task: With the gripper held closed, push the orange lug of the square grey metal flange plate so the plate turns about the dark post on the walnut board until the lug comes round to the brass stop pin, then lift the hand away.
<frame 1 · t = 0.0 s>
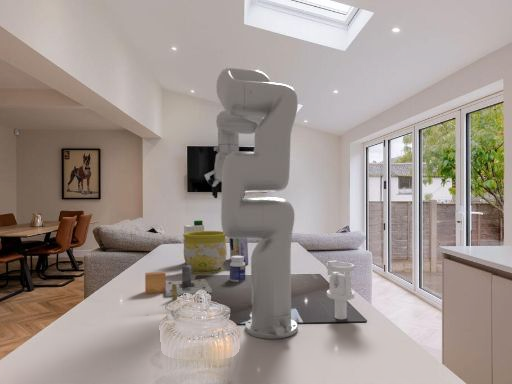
hand: (228, 197, 130), 31 cm above the table, tool pointing down, fingers open, 9 cm apart
board: (186, 293, 118), on the table
milk carton: (194, 263, 169), on the table
flange plate: (177, 280, 117), point 5 cm above the table, hinge at 0.0°
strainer: (340, 318, 94), on the table
flowerpot: (205, 272, 150), on the table
pill bottle: (237, 284, 130), on the table
cake pan box: (238, 261, 174), on the table
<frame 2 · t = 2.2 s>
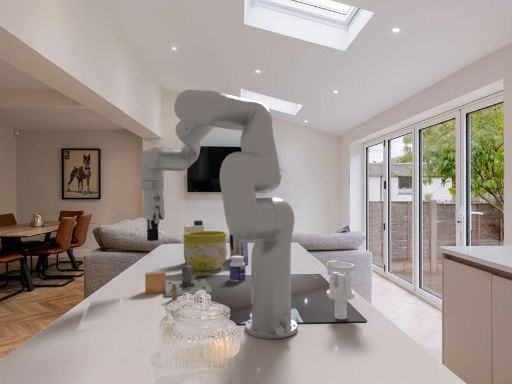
hand: (152, 240, 122), 17 cm above the table, tool pointing down, fingers closed
nothing on the table moved.
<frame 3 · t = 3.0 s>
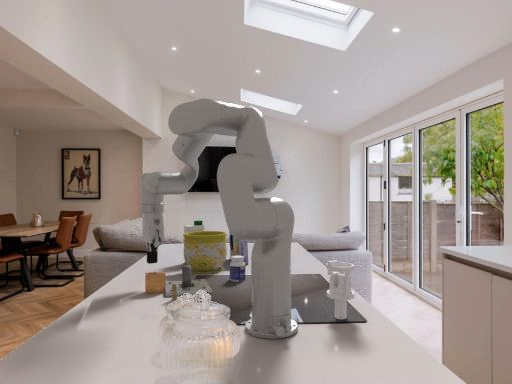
hand: (152, 262, 123), 9 cm above the table, tool pointing down, fingers closed
nothing on the table moved.
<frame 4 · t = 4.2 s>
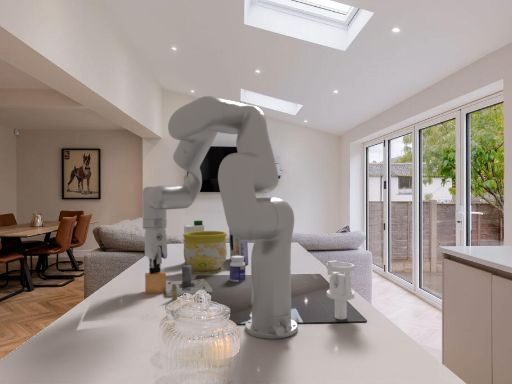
hand: (154, 279, 119), 5 cm above the table, tool pointing down, fingers closed
flange plate: (177, 280, 117), point 4 cm above the table, hinge at 1.7°, touching gripper
everything else where it was.
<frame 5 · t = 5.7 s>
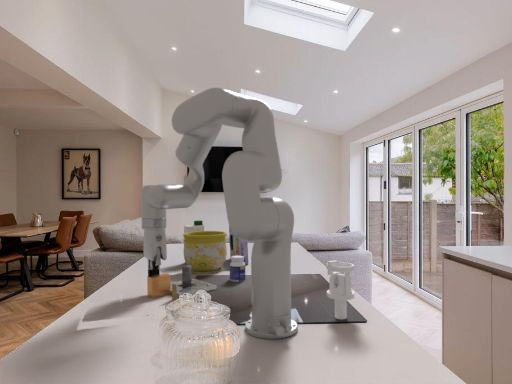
hand: (153, 281, 114), 5 cm above the table, tool pointing down, fingers closed
flange plate: (178, 281, 116), point 4 cm above the table, hinge at 25.4°, touching gripper
everything else where it was.
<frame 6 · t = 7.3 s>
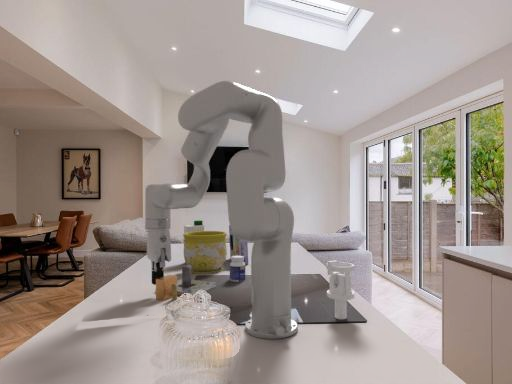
hand: (157, 283, 111), 5 cm above the table, tool pointing down, fingers closed
flange plate: (180, 281, 115), point 4 cm above the table, hinge at 46.7°, touching gripper
everything else where it was.
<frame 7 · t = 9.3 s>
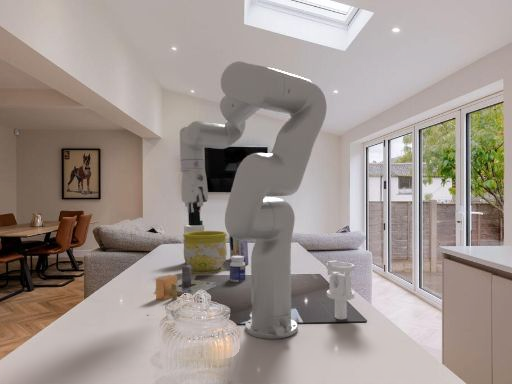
hand: (194, 225, 112), 23 cm above the table, tool pointing down, fingers closed
flange plate: (181, 281, 115), point 4 cm above the table, hinge at 46.9°
everything else where it was.
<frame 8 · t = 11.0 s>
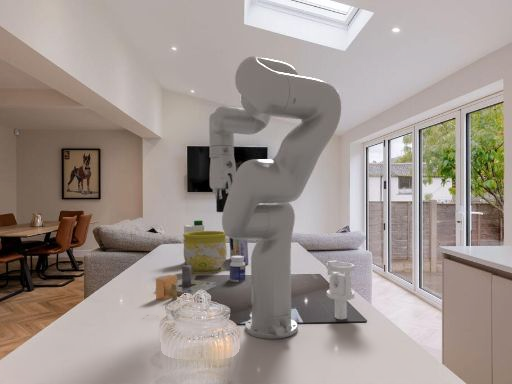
hand: (222, 211, 112), 27 cm above the table, tool pointing down, fingers closed
nothing on the table moved.
at the end: flange plate at +47° (first picture: +0°); flange plate touching nothing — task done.
